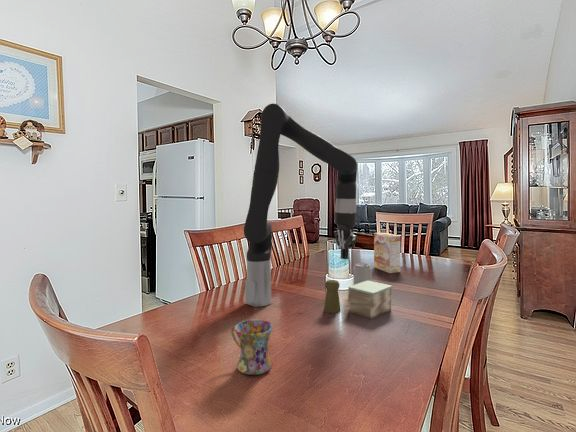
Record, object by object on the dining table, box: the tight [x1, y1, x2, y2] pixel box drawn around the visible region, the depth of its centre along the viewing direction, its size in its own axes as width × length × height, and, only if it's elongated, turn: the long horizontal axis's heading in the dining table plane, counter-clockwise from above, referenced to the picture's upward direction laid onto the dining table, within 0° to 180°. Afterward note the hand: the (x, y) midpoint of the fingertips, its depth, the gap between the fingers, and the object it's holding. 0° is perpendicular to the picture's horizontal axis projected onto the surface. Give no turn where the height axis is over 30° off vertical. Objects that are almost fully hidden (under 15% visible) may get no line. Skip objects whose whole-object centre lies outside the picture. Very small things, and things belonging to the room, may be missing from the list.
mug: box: [230, 318, 274, 376], centre depth 83 cm, size 12×9×11 cm
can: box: [352, 262, 372, 285], centre depth 143 cm, size 8×8×12 cm
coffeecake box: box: [373, 232, 402, 274], centre depth 182 cm, size 15×7×20 cm, turn 17°
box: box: [347, 288, 392, 320], centre depth 121 cm, size 12×10×8 cm
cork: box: [323, 279, 342, 314], centre depth 122 cm, size 6×6×11 cm
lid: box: [348, 280, 393, 295], centre depth 121 cm, size 12×10×1 cm
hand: (344, 258), depth 122 cm, fingers closed
